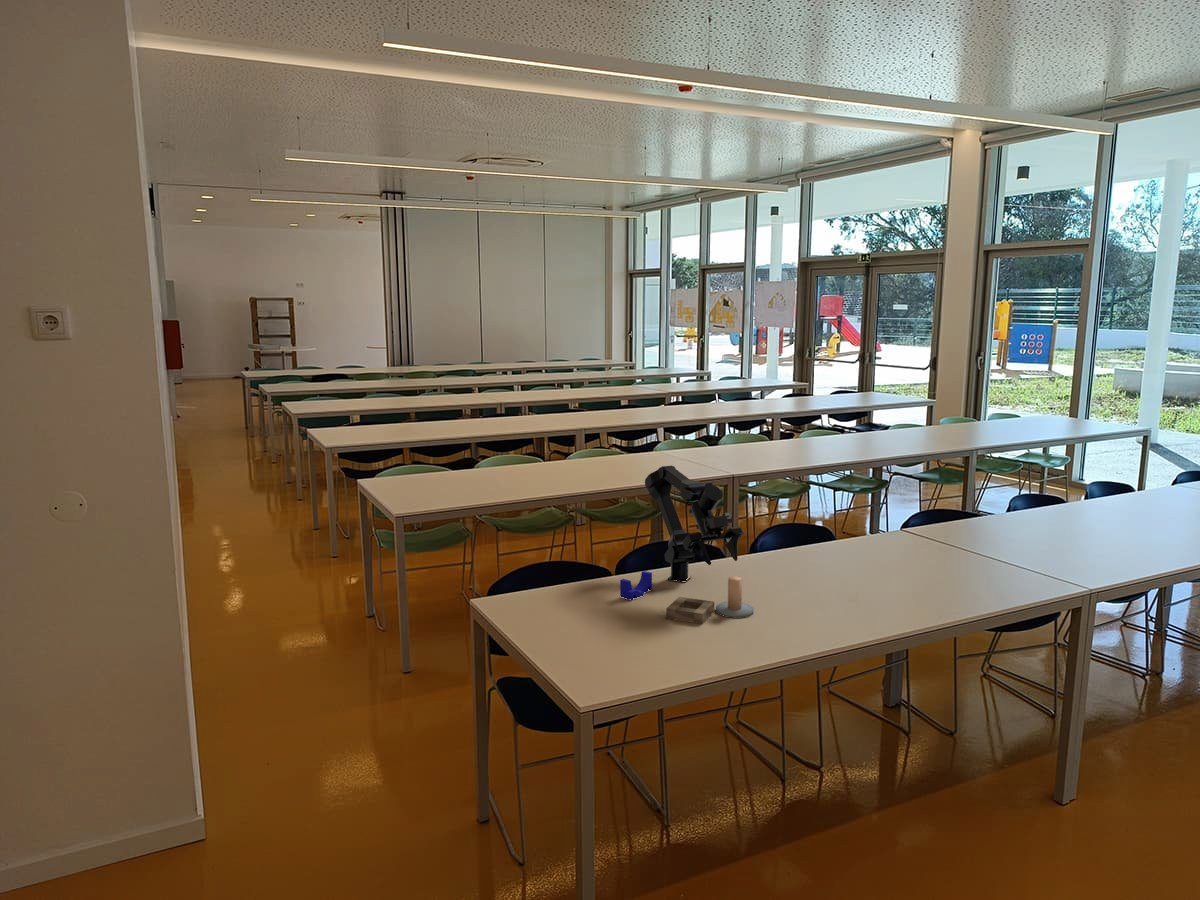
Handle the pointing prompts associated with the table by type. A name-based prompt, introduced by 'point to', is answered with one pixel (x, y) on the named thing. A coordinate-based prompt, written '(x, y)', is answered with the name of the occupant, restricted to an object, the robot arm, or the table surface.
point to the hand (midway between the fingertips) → (723, 562)
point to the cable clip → (639, 590)
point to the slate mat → (743, 612)
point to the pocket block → (690, 610)
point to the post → (734, 593)
